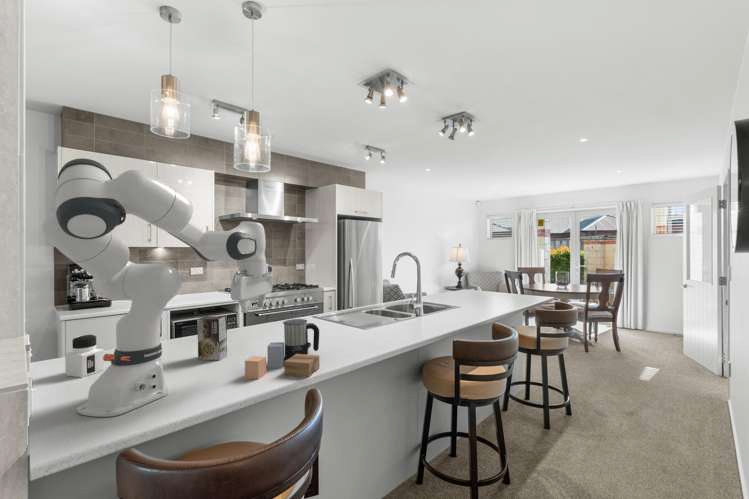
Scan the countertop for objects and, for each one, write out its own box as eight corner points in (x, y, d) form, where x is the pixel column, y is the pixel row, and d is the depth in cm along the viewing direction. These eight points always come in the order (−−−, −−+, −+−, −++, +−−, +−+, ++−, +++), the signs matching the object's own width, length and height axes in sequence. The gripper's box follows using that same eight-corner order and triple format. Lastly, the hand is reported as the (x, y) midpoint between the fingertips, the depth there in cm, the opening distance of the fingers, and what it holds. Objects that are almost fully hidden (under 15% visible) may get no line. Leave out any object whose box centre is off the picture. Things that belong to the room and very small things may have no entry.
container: (104, 370, 131) (103, 334, 131) (81, 378, 124) (81, 339, 123) (88, 368, 133) (87, 332, 133) (65, 375, 126) (64, 338, 126)
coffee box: (227, 355, 148) (227, 315, 148) (219, 360, 142) (219, 318, 141) (206, 354, 149) (205, 315, 149) (197, 360, 143) (196, 318, 142)
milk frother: (289, 364, 137) (288, 324, 137) (273, 354, 150) (273, 317, 150) (323, 357, 146) (323, 320, 145) (305, 348, 158) (305, 313, 158)
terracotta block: (258, 379, 122) (258, 361, 122) (245, 378, 123) (244, 360, 123) (266, 374, 127) (265, 356, 127) (252, 373, 128) (252, 356, 128)
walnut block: (309, 378, 124) (309, 363, 124) (284, 375, 126) (284, 361, 126) (319, 369, 132) (319, 355, 132) (296, 367, 135) (296, 353, 135)
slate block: (281, 368, 133) (281, 346, 133) (267, 368, 133) (267, 346, 133) (284, 363, 138) (284, 342, 138) (270, 363, 138) (270, 342, 138)
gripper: (242, 271, 114) (243, 316, 115) (275, 267, 134) (276, 304, 135) (225, 271, 116) (225, 315, 116) (260, 267, 136) (260, 304, 136)
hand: (253, 309), depth 126 cm, fingers open, 8 cm apart
